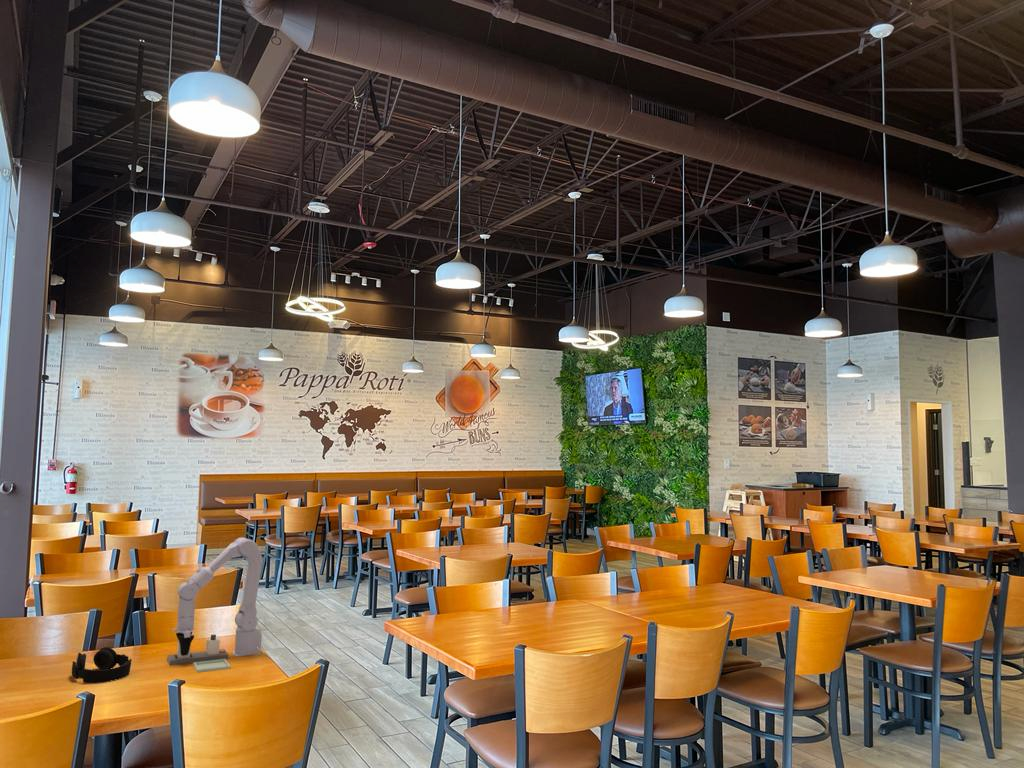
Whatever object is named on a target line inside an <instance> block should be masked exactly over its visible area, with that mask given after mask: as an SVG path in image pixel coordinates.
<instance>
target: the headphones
mask: <svg viewBox="0 0 1024 768" xmlns="http://www.w3.org/2000/svg"><path fill="white" fill-rule="evenodd" d="M86 661H87V654H86V653H82V652H78V653H77V655H76V659H75V661H72V665H71V666H72V667H71V676H72V678H74V679H76V680H78V679H81V680H82V682H83V683H87V684H99V683H101V684H102V683H107V681H108V682H112V681H111V680H113V681H116V680H115V679H117V680H120V679H119V678H121V679H123V678H122V677H124V678H126V677H127V676H129V674H130V673H129V672H131V666H132V661H133V659H132V658H129V656H127V655H126V654H117V652H116V650H115V649H113V648H111V647H109V646H103V647H102V648H100V649H98V651H96V653H94V655H93V664H94V665H95V667H96V668H97V669H89V668H86ZM116 665H118V666H117V667H116ZM111 668H112V669H111ZM126 675H127V676H126ZM125 676H126V677H125Z"/></svg>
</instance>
